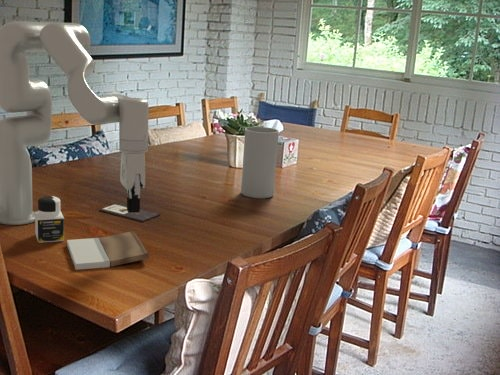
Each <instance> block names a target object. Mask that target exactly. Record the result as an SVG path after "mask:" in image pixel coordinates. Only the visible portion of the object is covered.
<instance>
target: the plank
mask: <svg viewBox="0 0 500 375" xmlns="http://www.w3.org/2000/svg"><path fill="white" fill-rule="evenodd" d="M98 238H99V240H100V242H101V244H102V246H103V248H104V250H105V252H106V254H107V256H108V258H109V260H110V267H115V266H116V267H117V266H120V265H124V264H130V263H134V262H138V261H142V260H148V259H149V258H150V257H149V252H148V251H147V249H146V248H145V246H144V244H143V243H142V241H141V240H140V239H139V237H138V236H137V234H136V232H135V231H134V230H131V231H126V232H122V233H118V234H117V233H116V234H112V235H107V236H103V237H102V236H101V237H98Z"/></svg>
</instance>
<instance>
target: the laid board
mask: <svg viewBox="0 0 500 375" xmlns="http://www.w3.org/2000/svg"><path fill="white" fill-rule="evenodd" d="M99 238H100V237H93V238H92V237H91V238H79V239H77V238H75V239H66V246H67V249H68V252H69V255H70V257H71V260H72V264H73V265H74V269H75V270H76V271H78V270H87V269H88V270H89V269H100V268H101V269H103V268H110V267H111V265H110V260H109V258H108V256H107V254H106V252H105V250H104V248H103V246H102V244H101V242H100V240H99Z"/></svg>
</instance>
